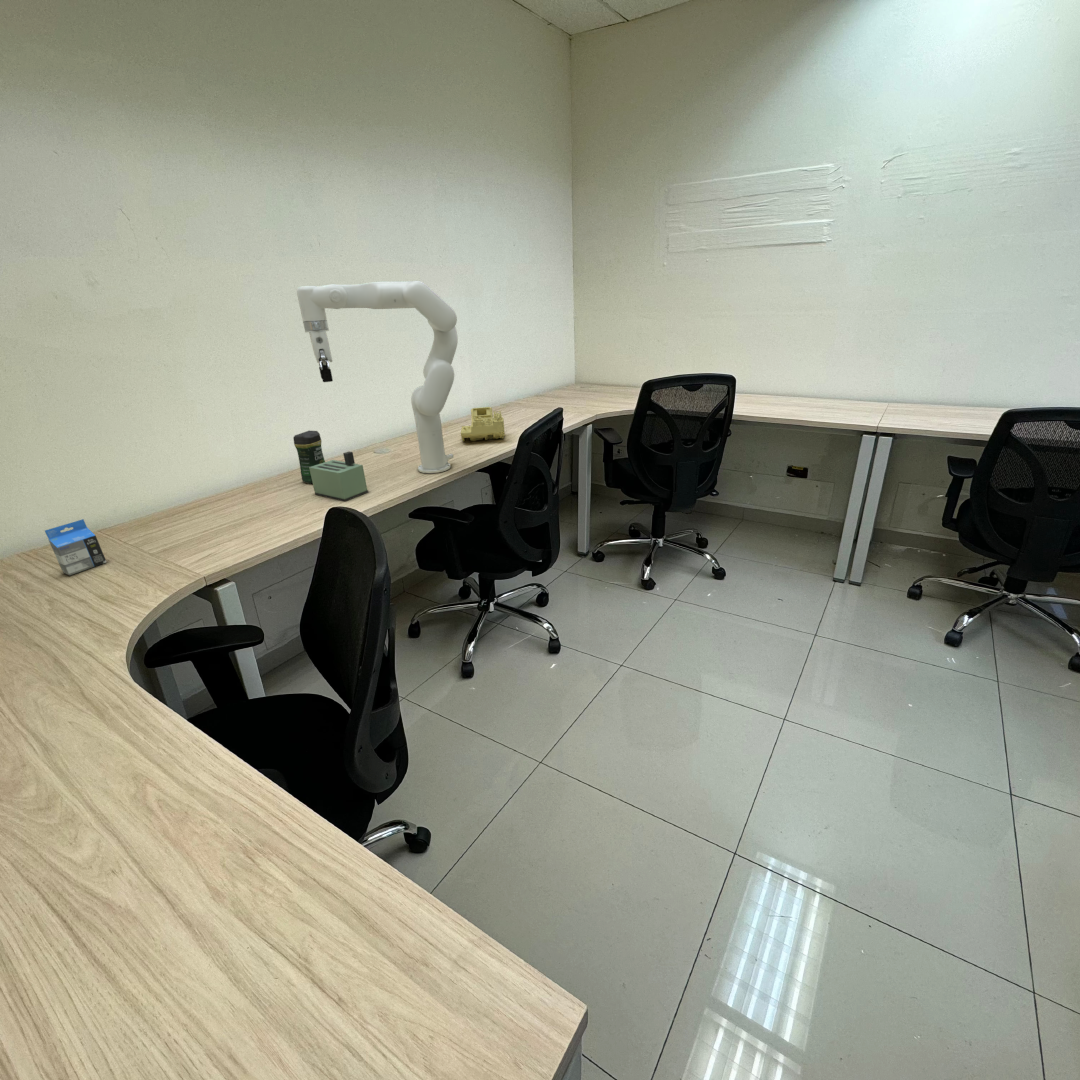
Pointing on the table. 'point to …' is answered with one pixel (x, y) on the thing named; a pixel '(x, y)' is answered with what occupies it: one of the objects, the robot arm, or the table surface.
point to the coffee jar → (308, 452)
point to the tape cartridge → (75, 547)
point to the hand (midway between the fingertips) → (327, 380)
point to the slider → (349, 458)
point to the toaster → (338, 480)
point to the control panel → (484, 425)
